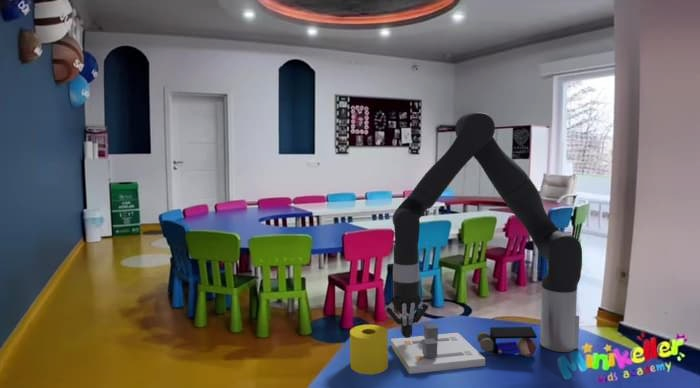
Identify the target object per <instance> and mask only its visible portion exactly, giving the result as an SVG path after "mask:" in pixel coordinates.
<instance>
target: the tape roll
mask: <svg viewBox="0 0 700 388" xmlns="http://www.w3.org/2000/svg"><path fill="white" fill-rule="evenodd" d="M388 333H389V332H388V329H387V328H385V327H384V326H382V325H377V324H361V325H356V326H354V327H352V328H350V330H349V345H350V346H349V352H350V353H349V356H350V359H349V360H350V368H351V370H353V372H356V373H358V374H361V375H362V374H363V375H375V374H380V373H383V372H385V371H386V370H387V369H388V368H389V367H388V366H389V360H388V359H389V353H388V351H389V350H388V346H389V343H388V342H389V341H388V336H389V335H388Z"/></svg>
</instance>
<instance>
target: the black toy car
mask: <svg viewBox="0 0 700 388" xmlns="http://www.w3.org/2000/svg"><path fill="white" fill-rule="evenodd" d="M476 337H477V341H478V343H479V345H480V348H481V349H482V350H483V351H484V352H486V353H491V354H487V355H486V357H497V356H500V355H506V354H507V355H512V354H521V355H522V356H524V357H532V356H533V355H535V353H536V351H537V346H536V343H535V341H534V340H533V339H537V338H538V336H537V334H536V333H535V330H534V329H533V327H532V326H508V327H507V326H506V327H504V326H503V327H502V326H500V327H498V326H495V327H490V333H489V332H487V331H481V332H479V333H478V334H477V336H476ZM497 339H519V340H518V341H517V342H516V340H515V341H503V342H497Z"/></svg>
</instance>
